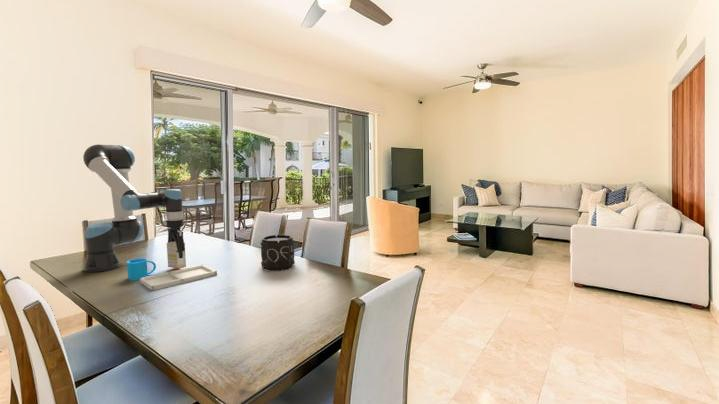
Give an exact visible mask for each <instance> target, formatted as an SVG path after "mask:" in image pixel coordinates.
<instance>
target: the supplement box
mask: <svg viewBox="0 0 719 404" xmlns="http://www.w3.org/2000/svg"><path fill="white" fill-rule="evenodd" d="M184 247H185V248H186V242H185V241H184ZM176 251H177V246H176V242H175V241H173V242H168V241H167V242H166V254H167V267H168V268H173V269H176V270H180V269H184V268H185V267H186V268H187V260H186V250H185V251H183V261H184V264H180V265H177V253H176Z"/></svg>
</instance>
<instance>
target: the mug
mask: <svg viewBox="0 0 719 404" xmlns="http://www.w3.org/2000/svg"><path fill="white" fill-rule="evenodd" d="M148 263H151V264H152V266H153V269H152V270H151V271H149V272H148ZM126 268H127V279H128V280H129V281H137V280H140V278H143V277H147V276H149V275H150V274H152V273H153V272H154V271H155V270H156V268H157V265H156V263H155V262H154V261H152V260H148V259H147V258H134V259H129V260H127V261H126Z"/></svg>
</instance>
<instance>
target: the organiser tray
mask: <svg viewBox="0 0 719 404" xmlns="http://www.w3.org/2000/svg"><path fill="white" fill-rule="evenodd" d="M217 275H218V270H215V269H213V268H211V267H209V266H207V265H205V264H200V265H199V264H198V265H194V266H190V267H186V268H185V267H184V268H180V269H176V270H171V271H166V272H162V273H158V274H153V275H148V276H147V277H143V278H140V279H139V281H140V282H139V283H141V284H142V285H144V286H145V287H146V288H147V289H148V290H150V291H151V292H152V291H153V292H154V291H156V290H161V289H165V288H168V287H173V286H176V285H181V284H185V283H188V282H192V281H193V282H194V281H197V280H201V279H206V278H209V277H210V278H211V277H214V276H217Z"/></svg>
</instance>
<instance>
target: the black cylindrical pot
mask: <svg viewBox="0 0 719 404" xmlns="http://www.w3.org/2000/svg"><path fill="white" fill-rule="evenodd" d="M294 244H295V241H294V239H293V236H291V235H289V234H277V235H276V234H272V235H267V236H264V237H262V238H261V240H260V256H261V262H260V264H261V267H262V268H263V270H265V271H268V270H269V272H274V271H275V272H280V271H281V270H282V271H285V270H286V269H287V270H290V269H291V268H293V267H294V265H295V263H296V262H295V245H294ZM292 266H293V267H292ZM289 268H290V269H289Z"/></svg>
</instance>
